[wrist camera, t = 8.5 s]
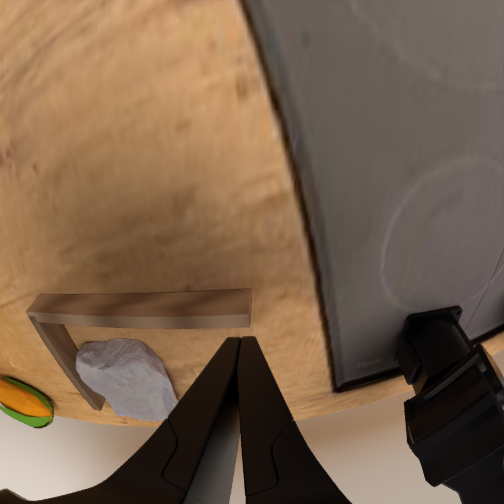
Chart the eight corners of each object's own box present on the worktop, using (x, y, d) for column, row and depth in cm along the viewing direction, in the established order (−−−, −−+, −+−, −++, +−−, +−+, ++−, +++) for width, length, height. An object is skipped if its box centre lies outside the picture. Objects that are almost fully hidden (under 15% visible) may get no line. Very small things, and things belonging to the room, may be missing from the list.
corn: (53, 444, 31) (-12, 409, 31) (68, 413, 38) (3, 386, 38) (32, 420, 28) (-31, 384, 28) (51, 388, 35) (-13, 360, 35)
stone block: (150, 321, 27) (75, 340, 27) (145, 357, 23) (64, 371, 23) (194, 387, 33) (126, 399, 33) (195, 419, 29) (123, 428, 28)
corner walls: (250, 288, 22) (248, 314, 20) (265, 403, 30) (265, 425, 27) (40, 294, 24) (25, 311, 21) (100, 392, 32) (93, 409, 29)
